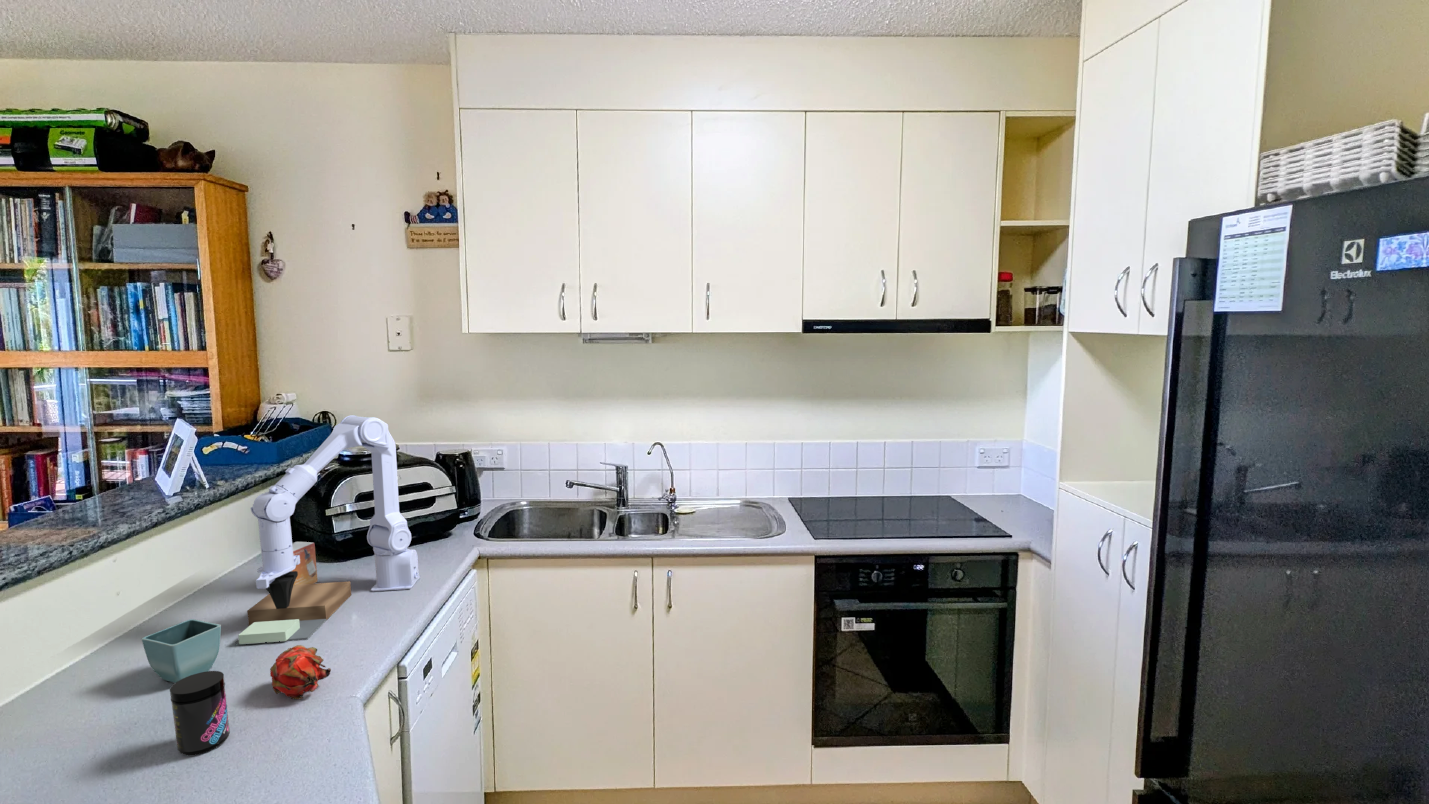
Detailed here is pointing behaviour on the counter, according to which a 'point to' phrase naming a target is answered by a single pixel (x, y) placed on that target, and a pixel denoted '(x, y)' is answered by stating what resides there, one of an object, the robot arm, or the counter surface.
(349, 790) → the counter surface
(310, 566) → the small box
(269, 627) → the sage green block
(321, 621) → the mat
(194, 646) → the flower pot
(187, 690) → the supplement container
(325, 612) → the brown flat block
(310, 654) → the dragon fruit
